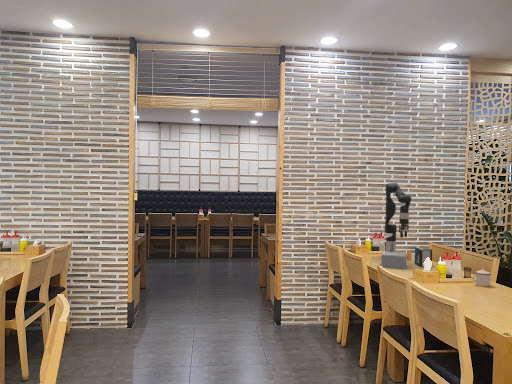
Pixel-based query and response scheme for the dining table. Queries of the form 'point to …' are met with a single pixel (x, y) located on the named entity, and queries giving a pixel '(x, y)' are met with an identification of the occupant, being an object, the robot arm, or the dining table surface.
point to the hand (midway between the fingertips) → (403, 237)
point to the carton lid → (398, 254)
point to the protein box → (422, 255)
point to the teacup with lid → (482, 278)
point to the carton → (393, 262)
